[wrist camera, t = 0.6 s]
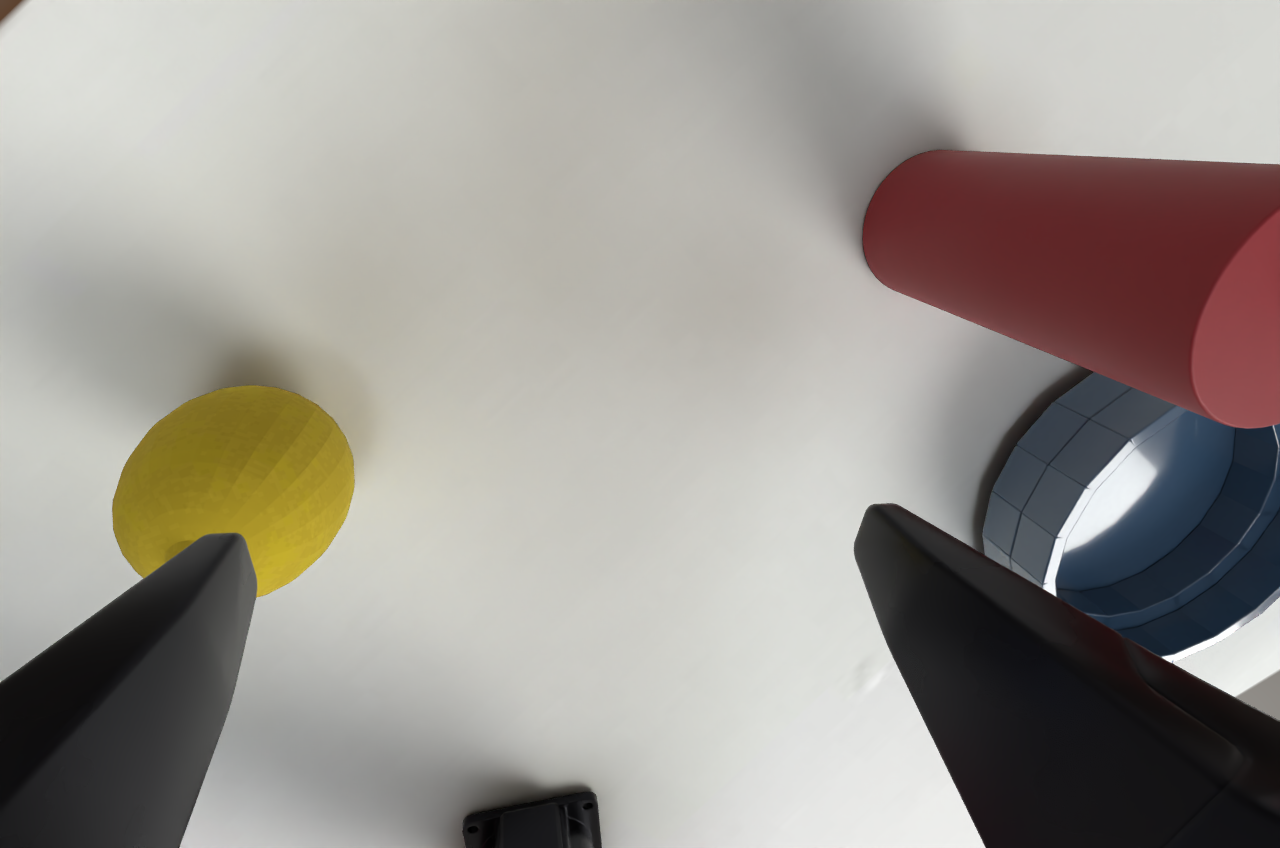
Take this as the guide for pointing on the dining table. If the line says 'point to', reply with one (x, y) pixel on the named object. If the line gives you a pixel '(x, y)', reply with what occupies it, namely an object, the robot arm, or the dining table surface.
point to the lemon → (237, 482)
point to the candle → (1100, 265)
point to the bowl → (1142, 516)
